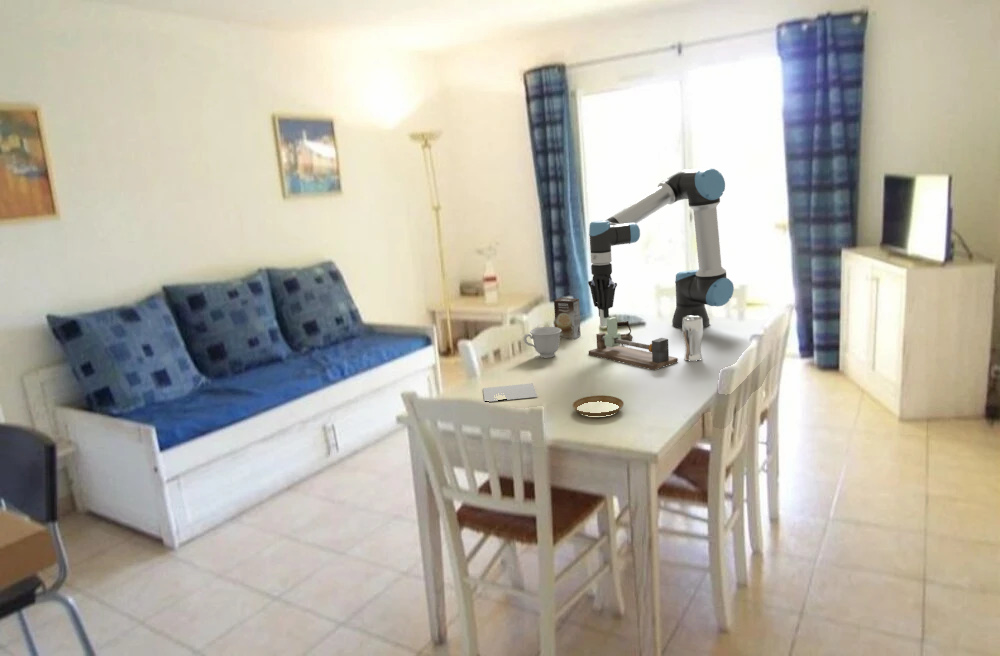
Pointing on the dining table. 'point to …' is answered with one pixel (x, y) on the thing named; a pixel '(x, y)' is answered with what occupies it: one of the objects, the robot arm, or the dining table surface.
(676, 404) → the dining table surface
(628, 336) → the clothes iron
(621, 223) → the robot arm
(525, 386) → the paper stack
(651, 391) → the dining table surface
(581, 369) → the dining table surface
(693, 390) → the dining table surface
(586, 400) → the plant saucer
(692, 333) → the beer glass
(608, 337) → the sleeve
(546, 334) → the teacup
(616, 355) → the rack
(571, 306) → the coffee box
